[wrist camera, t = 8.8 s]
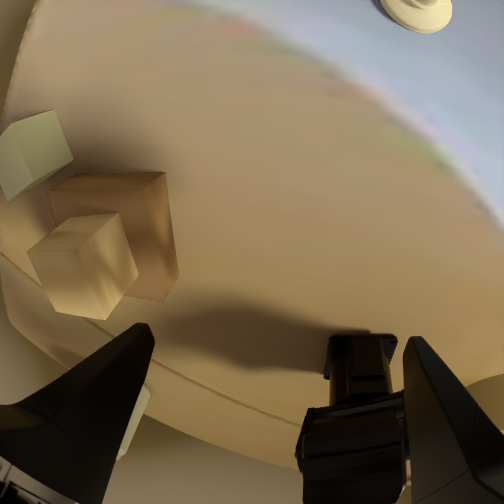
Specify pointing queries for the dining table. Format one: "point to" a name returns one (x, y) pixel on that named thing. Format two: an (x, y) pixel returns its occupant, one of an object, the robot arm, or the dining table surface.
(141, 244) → the pedestal
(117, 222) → the oak cube
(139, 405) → the beverage can
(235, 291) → the dining table surface
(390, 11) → the chess piece
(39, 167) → the sage block
